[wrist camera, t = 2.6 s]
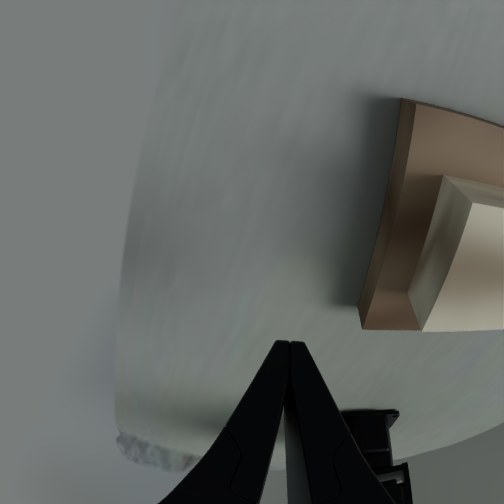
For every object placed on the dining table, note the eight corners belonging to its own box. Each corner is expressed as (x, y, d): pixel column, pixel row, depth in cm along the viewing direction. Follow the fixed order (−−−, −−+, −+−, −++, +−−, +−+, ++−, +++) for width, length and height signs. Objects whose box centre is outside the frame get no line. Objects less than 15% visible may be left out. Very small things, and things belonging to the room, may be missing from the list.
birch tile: (506, 296, 16) (525, 327, 13) (407, 293, 17) (421, 331, 14) (547, 199, 12) (577, 225, 10) (443, 175, 13) (472, 202, 10)
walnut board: (504, 309, 19) (515, 327, 17) (357, 307, 20) (362, 329, 18) (566, 152, 12) (584, 163, 10) (401, 97, 13) (416, 103, 11)
